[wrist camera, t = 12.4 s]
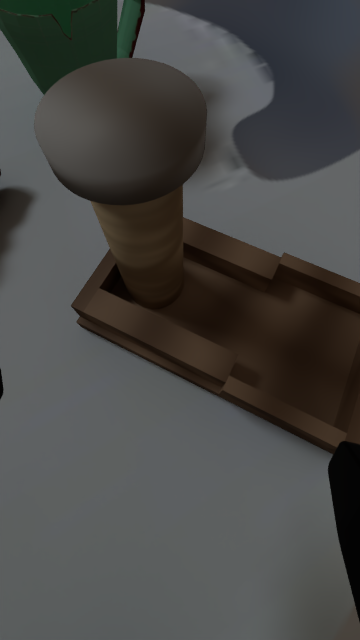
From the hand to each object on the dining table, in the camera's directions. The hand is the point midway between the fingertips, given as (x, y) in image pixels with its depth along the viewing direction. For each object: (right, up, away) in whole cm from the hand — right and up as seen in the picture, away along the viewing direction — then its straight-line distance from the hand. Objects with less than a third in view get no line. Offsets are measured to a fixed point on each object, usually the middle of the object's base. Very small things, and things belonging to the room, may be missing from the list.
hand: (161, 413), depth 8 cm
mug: (-8, +26, +24) cm, 36 cm away
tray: (+4, +2, +15) cm, 16 cm away
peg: (-1, +5, +15) cm, 16 cm away
